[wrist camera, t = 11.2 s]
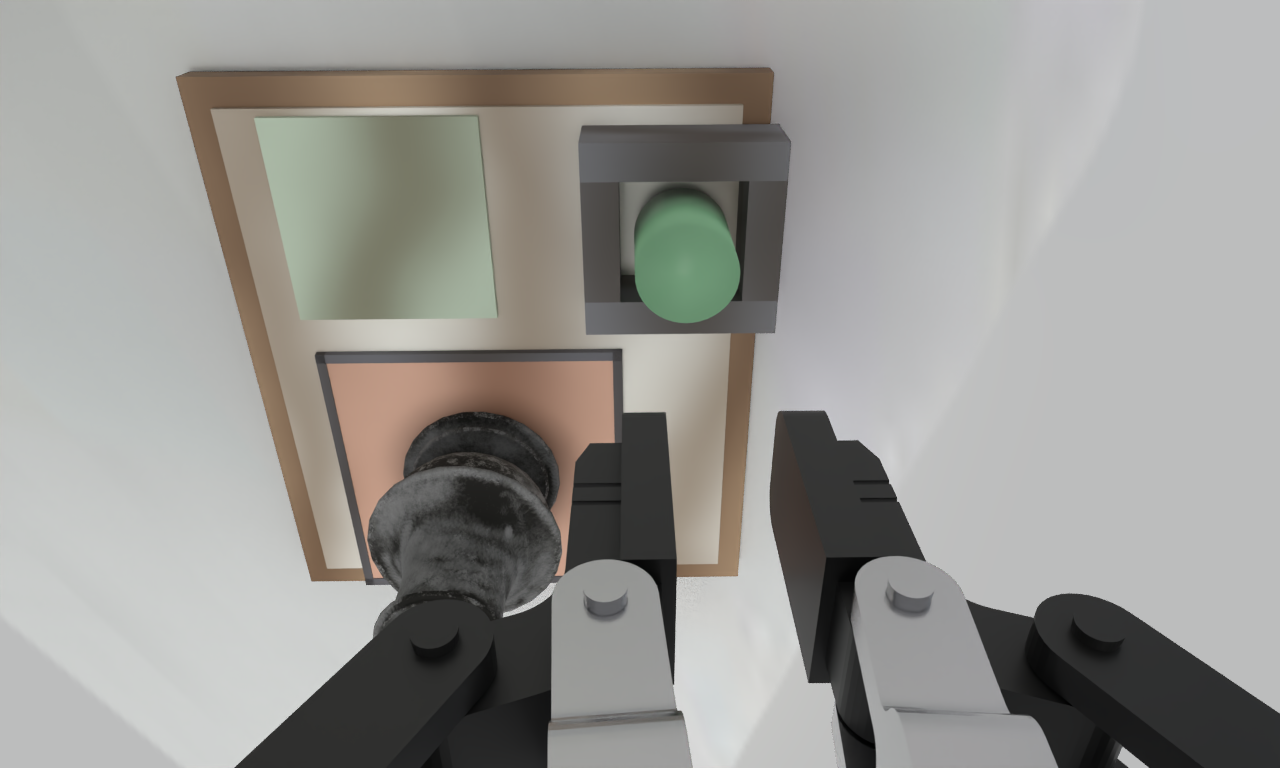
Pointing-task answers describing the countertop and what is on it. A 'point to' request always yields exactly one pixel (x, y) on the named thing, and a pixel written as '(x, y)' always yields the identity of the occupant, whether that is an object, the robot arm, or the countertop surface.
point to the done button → (684, 256)
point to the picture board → (487, 273)
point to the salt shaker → (469, 517)
